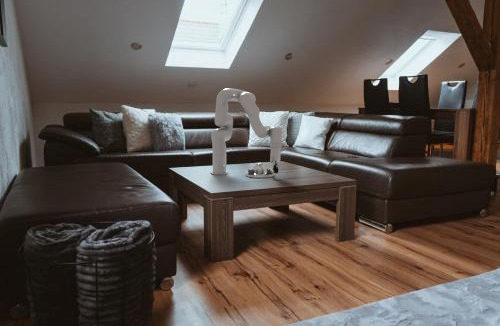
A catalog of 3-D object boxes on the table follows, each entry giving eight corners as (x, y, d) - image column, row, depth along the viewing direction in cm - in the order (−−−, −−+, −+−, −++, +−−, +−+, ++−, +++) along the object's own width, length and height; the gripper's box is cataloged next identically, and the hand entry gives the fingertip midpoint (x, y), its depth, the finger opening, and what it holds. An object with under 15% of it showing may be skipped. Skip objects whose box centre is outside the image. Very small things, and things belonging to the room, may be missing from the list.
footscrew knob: (266, 173, 277) (266, 167, 276) (272, 173, 277) (272, 167, 277) (269, 176, 263) (269, 171, 263) (276, 176, 264) (276, 171, 263)
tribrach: (242, 173, 285) (242, 160, 284) (269, 172, 289) (269, 160, 288) (248, 178, 266) (248, 165, 264) (277, 177, 270) (277, 164, 268)
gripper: (273, 144, 272) (272, 171, 275) (267, 146, 258) (267, 174, 261) (283, 144, 270) (283, 171, 273) (278, 146, 256) (278, 175, 259)
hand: (275, 173), depth 267 cm, fingers closed
